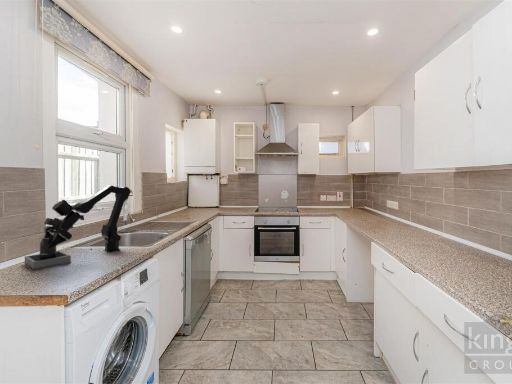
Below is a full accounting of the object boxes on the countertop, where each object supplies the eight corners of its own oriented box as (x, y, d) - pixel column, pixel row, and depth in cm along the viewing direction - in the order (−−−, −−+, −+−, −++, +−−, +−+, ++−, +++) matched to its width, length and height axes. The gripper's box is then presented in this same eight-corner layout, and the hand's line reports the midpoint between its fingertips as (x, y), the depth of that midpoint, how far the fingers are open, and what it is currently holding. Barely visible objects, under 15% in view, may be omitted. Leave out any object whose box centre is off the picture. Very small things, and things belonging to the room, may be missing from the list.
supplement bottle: (40, 264, 134) (39, 239, 134) (38, 261, 139) (38, 237, 139) (57, 261, 139) (57, 237, 139) (55, 258, 144) (55, 235, 144)
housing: (60, 257, 150) (60, 250, 149) (70, 263, 140) (70, 255, 140) (24, 264, 138) (24, 256, 138) (33, 270, 129) (33, 262, 128)
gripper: (48, 210, 146) (22, 234, 138) (64, 213, 136) (38, 239, 127) (65, 223, 153) (41, 247, 144) (82, 227, 143) (58, 252, 134)
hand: (44, 246), depth 137 cm, fingers open, 9 cm apart
